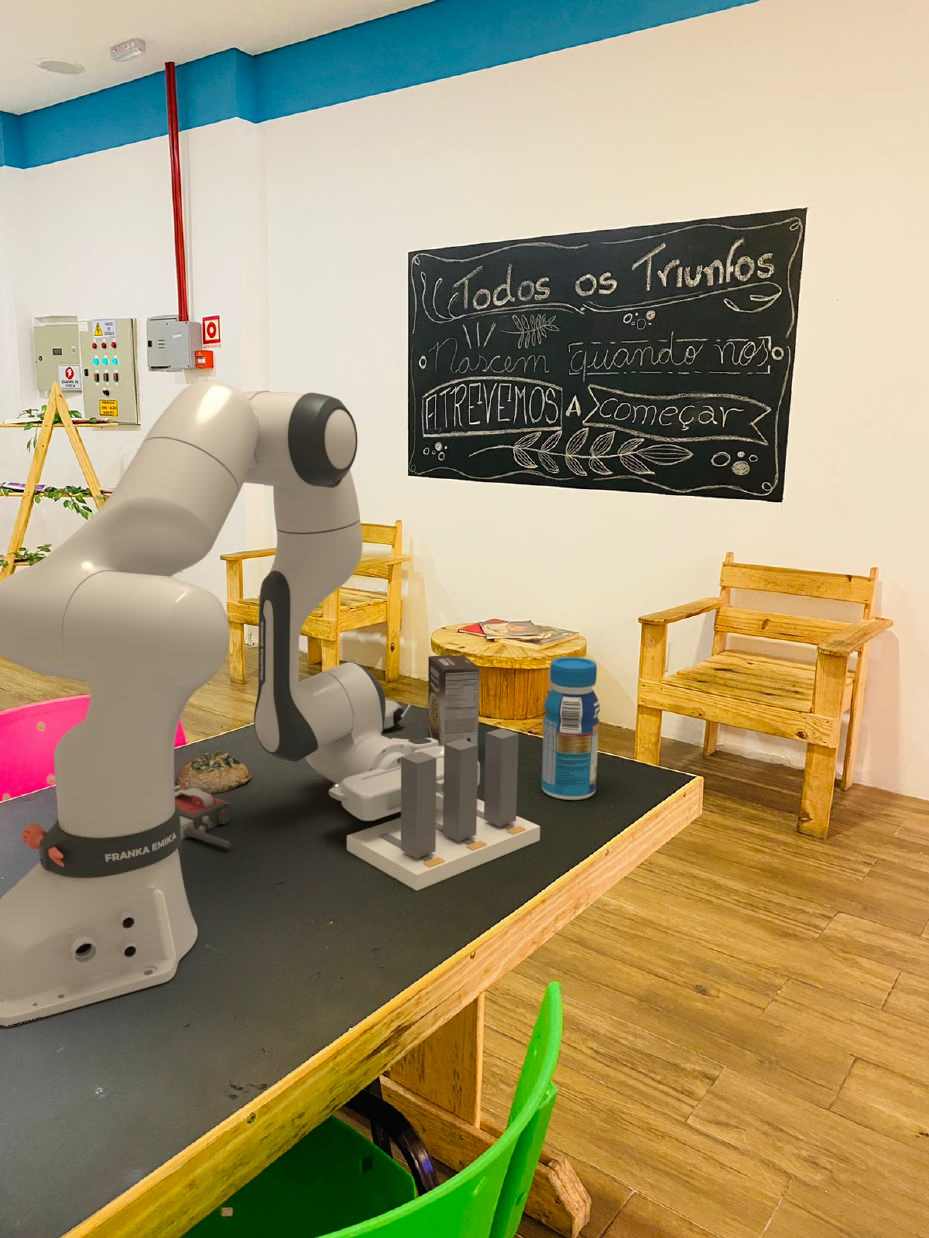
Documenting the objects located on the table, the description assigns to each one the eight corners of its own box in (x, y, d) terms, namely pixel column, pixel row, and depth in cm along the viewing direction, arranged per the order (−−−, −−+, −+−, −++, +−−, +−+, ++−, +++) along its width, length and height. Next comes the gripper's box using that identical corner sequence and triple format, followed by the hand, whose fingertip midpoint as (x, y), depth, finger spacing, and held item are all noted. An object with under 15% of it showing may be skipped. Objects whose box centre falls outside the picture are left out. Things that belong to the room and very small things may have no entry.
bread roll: (200, 764, 147) (202, 735, 146) (263, 781, 144) (265, 752, 143) (159, 792, 136) (161, 761, 135) (226, 811, 134) (228, 780, 133)
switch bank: (416, 890, 108) (416, 873, 107) (346, 850, 118) (346, 834, 117) (539, 840, 121) (540, 824, 121) (467, 807, 132) (468, 793, 131)
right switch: (499, 826, 119) (502, 738, 117) (483, 819, 122) (485, 732, 119) (516, 820, 121) (518, 733, 119) (500, 813, 124) (502, 728, 121)
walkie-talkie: (122, 820, 126) (223, 858, 116) (120, 789, 126) (222, 825, 115) (174, 800, 134) (273, 834, 123) (172, 771, 133) (272, 803, 122)
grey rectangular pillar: (458, 841, 115) (460, 750, 113) (443, 833, 117) (444, 743, 115) (476, 834, 117) (478, 744, 115) (460, 827, 119) (461, 738, 117)
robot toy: (379, 754, 156) (412, 722, 169) (378, 729, 155) (412, 699, 168) (314, 745, 160) (352, 715, 173) (313, 721, 158) (351, 692, 172)
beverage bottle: (528, 789, 139) (532, 660, 135) (566, 776, 144) (571, 652, 140) (570, 806, 133) (576, 672, 129) (608, 792, 138) (614, 663, 134)
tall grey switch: (416, 858, 110) (417, 763, 108) (400, 850, 112) (401, 756, 110) (435, 851, 112) (436, 757, 110) (419, 843, 114) (420, 751, 112)
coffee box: (426, 747, 156) (427, 655, 153) (462, 744, 158) (464, 653, 155) (441, 766, 148) (442, 668, 145) (479, 762, 150) (481, 666, 147)
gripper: (321, 766, 120) (386, 798, 110) (440, 735, 133) (508, 760, 123) (322, 812, 121) (386, 847, 111) (439, 776, 135) (506, 804, 125)
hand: (451, 801), depth 117 cm, fingers closed, pressing on grey rectangular pillar
